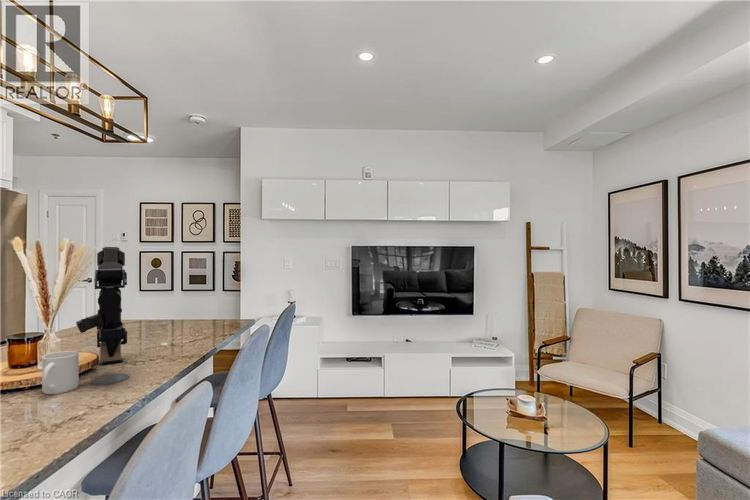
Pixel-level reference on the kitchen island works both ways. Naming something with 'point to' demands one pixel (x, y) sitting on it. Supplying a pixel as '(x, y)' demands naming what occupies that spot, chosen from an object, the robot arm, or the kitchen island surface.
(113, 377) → the slate coaster
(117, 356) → the walnut block
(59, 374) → the mug
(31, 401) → the kitchen island surface
